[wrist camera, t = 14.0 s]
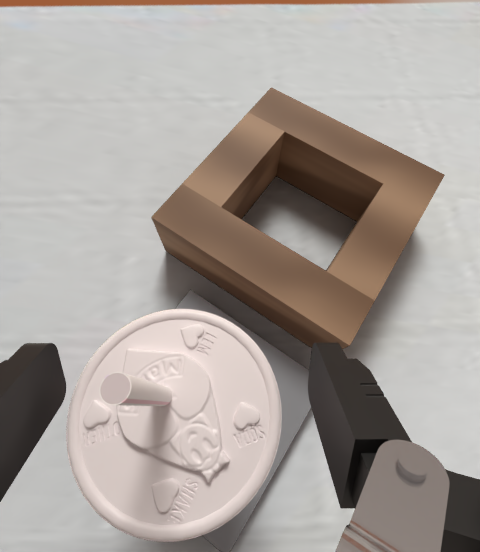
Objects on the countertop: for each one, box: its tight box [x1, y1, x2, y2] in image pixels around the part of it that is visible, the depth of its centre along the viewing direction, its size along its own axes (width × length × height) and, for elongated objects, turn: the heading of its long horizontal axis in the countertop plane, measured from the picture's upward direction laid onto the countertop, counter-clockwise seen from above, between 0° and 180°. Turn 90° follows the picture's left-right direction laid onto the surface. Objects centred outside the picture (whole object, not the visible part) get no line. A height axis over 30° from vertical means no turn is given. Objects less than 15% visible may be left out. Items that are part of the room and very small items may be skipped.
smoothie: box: [66, 309, 282, 542], centre depth 12 cm, size 6×6×14 cm
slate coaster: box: [175, 290, 311, 552], centre depth 19 cm, size 10×10×1 cm
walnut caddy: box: [151, 88, 444, 349], centre depth 22 cm, size 13×13×4 cm
